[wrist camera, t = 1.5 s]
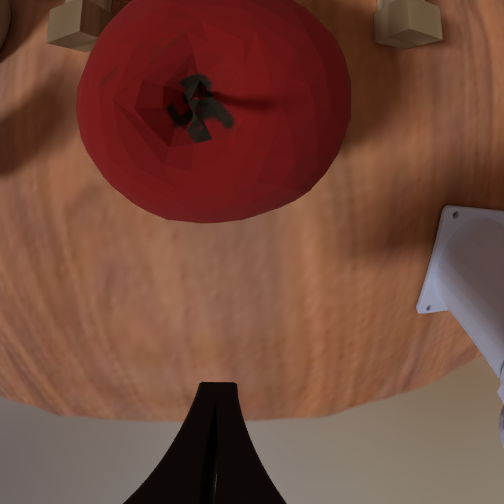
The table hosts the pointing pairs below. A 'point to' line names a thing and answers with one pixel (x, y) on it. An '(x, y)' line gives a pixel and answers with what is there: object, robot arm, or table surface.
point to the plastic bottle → (4, 20)
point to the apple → (214, 106)
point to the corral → (385, 20)
